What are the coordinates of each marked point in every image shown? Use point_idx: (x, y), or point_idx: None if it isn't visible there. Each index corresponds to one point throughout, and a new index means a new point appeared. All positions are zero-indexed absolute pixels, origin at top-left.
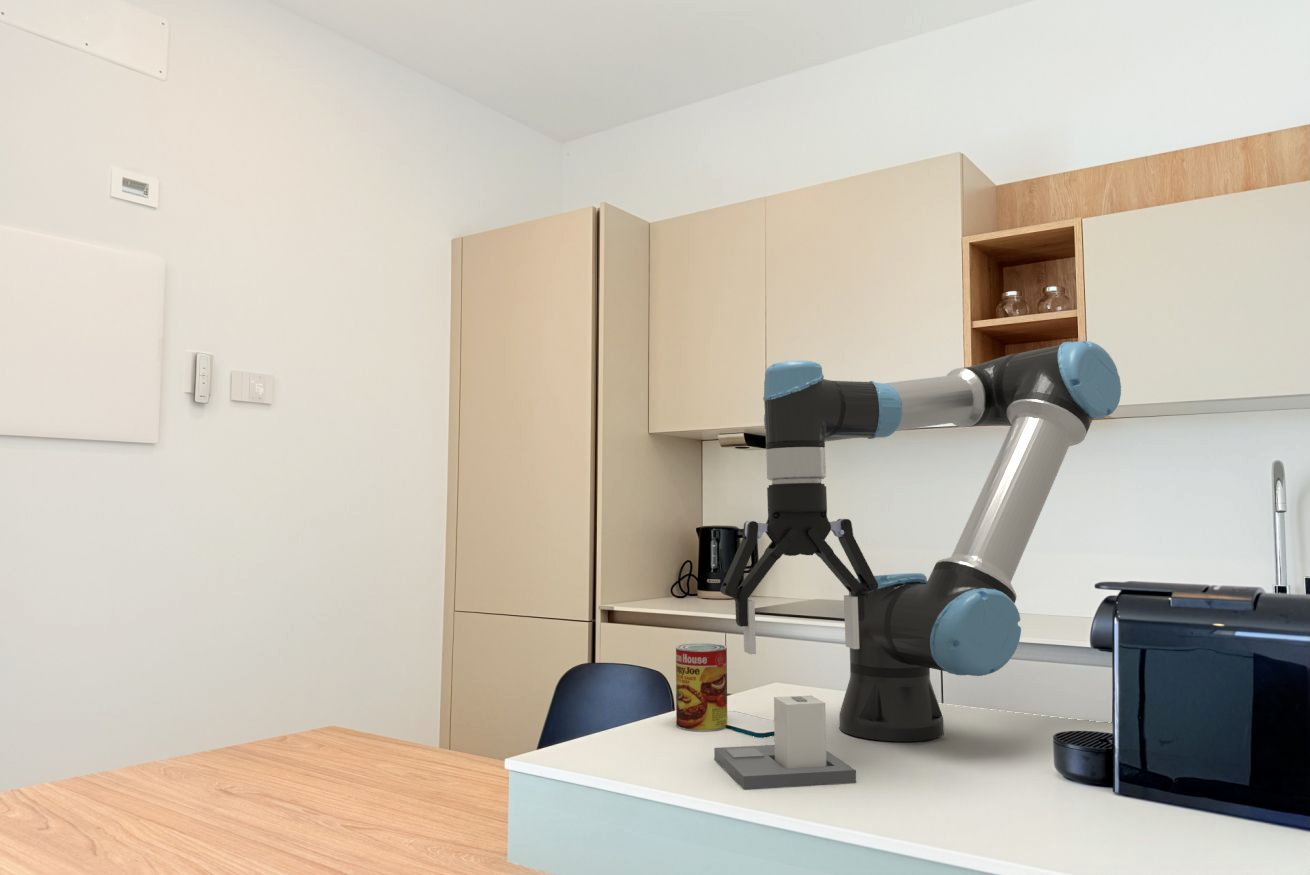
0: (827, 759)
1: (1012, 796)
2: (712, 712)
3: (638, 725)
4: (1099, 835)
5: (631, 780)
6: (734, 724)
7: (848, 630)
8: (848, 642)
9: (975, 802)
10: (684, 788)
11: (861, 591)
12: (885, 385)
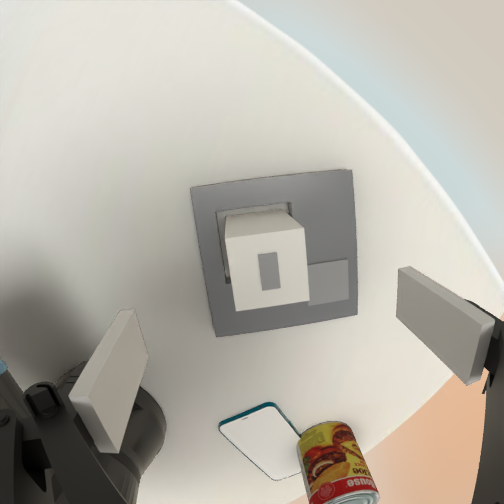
0: (217, 247)
1: (35, 133)
2: (323, 438)
3: (386, 433)
4: (27, 24)
5: (449, 224)
6: (291, 438)
7: (132, 360)
8: (140, 347)
9: (77, 106)
10: (408, 184)
11: (46, 407)
12: None
